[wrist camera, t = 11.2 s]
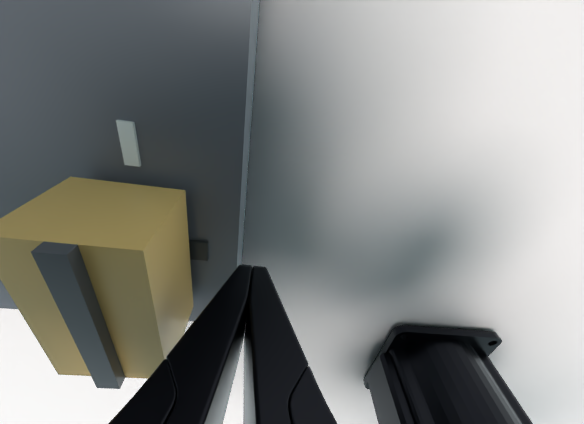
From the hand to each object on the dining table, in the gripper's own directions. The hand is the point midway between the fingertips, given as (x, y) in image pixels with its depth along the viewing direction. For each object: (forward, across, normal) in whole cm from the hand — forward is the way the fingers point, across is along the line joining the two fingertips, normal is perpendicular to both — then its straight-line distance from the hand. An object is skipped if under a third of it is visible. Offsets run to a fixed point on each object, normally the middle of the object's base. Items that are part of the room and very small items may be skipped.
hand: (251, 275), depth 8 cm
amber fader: (+1, +4, 0) cm, 4 cm away
